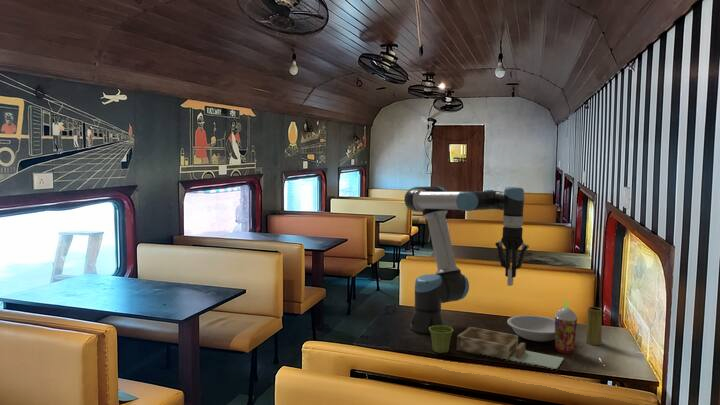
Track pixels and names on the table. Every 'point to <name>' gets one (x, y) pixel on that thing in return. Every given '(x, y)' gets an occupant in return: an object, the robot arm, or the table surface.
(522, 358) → the cover plate
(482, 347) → the box
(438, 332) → the plant pot
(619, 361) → the table surface
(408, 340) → the table surface
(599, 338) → the vase
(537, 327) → the soup bowl
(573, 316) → the smoothie
